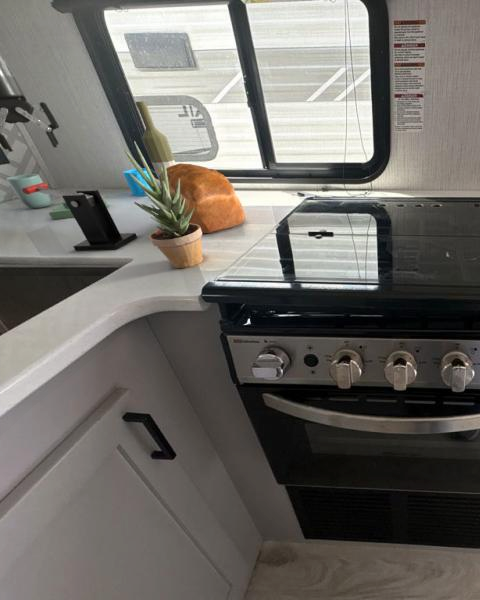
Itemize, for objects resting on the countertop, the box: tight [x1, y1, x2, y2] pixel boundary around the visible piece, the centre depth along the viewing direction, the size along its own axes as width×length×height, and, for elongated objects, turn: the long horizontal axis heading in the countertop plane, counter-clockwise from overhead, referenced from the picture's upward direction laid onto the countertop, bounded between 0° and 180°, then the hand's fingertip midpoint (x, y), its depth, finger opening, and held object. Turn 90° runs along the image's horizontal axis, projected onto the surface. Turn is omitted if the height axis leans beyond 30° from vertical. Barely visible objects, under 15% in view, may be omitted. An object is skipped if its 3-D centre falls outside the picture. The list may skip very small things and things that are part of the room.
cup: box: [6, 173, 52, 209], centre depth 111 cm, size 8×8×10 cm
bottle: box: [135, 101, 177, 182], centre depth 112 cm, size 7×7×30 cm
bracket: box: [62, 189, 138, 252], centre depth 80 cm, size 10×8×13 cm
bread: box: [158, 162, 246, 234], centre depth 93 cm, size 14×26×16 cm, turn 49°
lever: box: [22, 182, 95, 207], centre depth 77 cm, size 12×5×2 cm, turn 92°
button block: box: [48, 198, 109, 221], centre depth 106 cm, size 12×10×4 cm
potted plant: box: [124, 140, 204, 269], centre depth 67 cm, size 10×10×25 cm
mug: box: [122, 167, 152, 197], centre depth 123 cm, size 12×8×8 cm
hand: (33, 149), depth 87 cm, fingers open, 8 cm apart
